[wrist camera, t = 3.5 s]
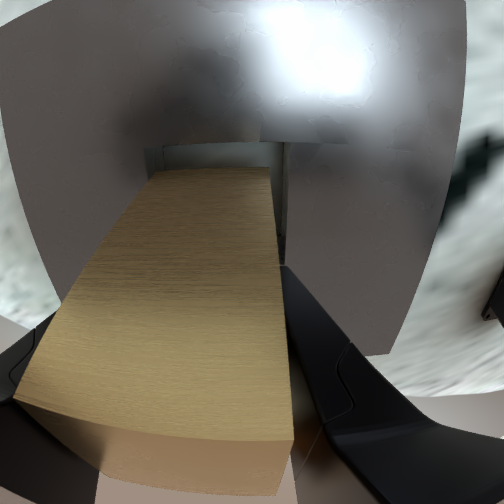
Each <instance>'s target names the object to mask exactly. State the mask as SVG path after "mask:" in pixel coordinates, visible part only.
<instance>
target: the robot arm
mask: <svg viewBox="0 0 504 504" xmlns="http://www.w3.org/2000/svg"><path fill="white" fill-rule="evenodd" d="M280 274H281V284H282V295H283V305H284V316H285V327H286V339H287V351H288V363H289V375H290V388H291V402H292V416H293V431H294V442H293V445H292V448H291V451H290V455H291V462H292V468H293V474H294V480H295V488H296V494H297V501H298V504H504V439H500V438H494V437H490V436H485V435H481V434H476V433H472V432H468V431H464V430H460V429H456V428H451V427H448V426H445V425H441V424H439V423H437V422H435V421H433V420H431V419H430V418H428V417H427V416H426V415H424V414H423V413H422V412H421V411H420V410H418V409H417V408H416V407H415V406H414V405H413V404H412V403H411V402H410V401H409V400H408V399H407V398H406V397H405V396H404V395H403V394H401V393H400V392H399V391H398V390H397V389H396V388H395V387H394V386H393V385H392V384H391V383H390V382H389V381H388V380H387V379H386V378H385V377H384V376H383V375H382V374H381V373H380V372H379V371H378V370H377V369H376V368H375V367H374V366H373V365H372V364H371V363H370V362H369V361H368V360H367V359H366V358H365V356H364V355H363V354H362V353H361V352H360V351H359V350H358V348H357V347H356V346H355V345H354V344H353V343H352V342H351V340H350V339H349V338H348V337H347V335H346V334H345V333H344V332H343V331H342V329H341V328H340V327H339V326H338V325H337V323H336V322H335V321H334V320H333V319H332V318H331V316H330V315H329V314H328V313H327V312H326V310H325V309H324V308H323V307H322V306H321V305H320V303H319V302H318V301H317V300H316V299H315V298H314V296H313V295H312V294H311V293H310V292H309V291H308V289H307V288H306V287H305V286H304V285H303V283H302V282H301V281H300V280H299V279H298V278H297V276H296V275H295V274H294V273H293V272H292V271H291V270H290V268H289V267H288V266H280ZM57 311H58V310H57ZM57 311H55V312H54V313H53V314H52V315H50V316H49V317H48V318H46V319H45V320H44V321H43V322H41V323H40V324H39V325H37V326H36V329H35V328H34V329H32V330H31V331H30V332H29V333H27V334H26V335H25V336H24V337H22V338H21V339H20V340H18V341H17V342H16V343H15V344H13V345H12V346H11V347H9V348H8V349H6V350H5V351H4V352H2V353H1V354H0V504H94V503H95V496H96V490H97V483H98V477H99V470H97V469H96V468H95V467H93V466H92V465H90V464H89V463H88V462H86V461H85V460H83V459H82V458H81V457H79V456H78V455H77V454H75V453H74V452H73V451H71V450H70V449H69V448H68V447H66V446H65V445H64V444H63V443H61V442H60V441H59V440H58V439H57V438H55V437H54V436H53V435H52V434H51V433H50V432H48V431H47V430H46V429H45V428H44V427H43V426H42V425H40V424H39V423H38V422H37V421H36V420H35V419H34V418H33V417H32V416H31V415H30V414H29V413H28V412H27V411H25V410H24V409H23V408H22V407H21V406H20V405H19V404H18V403H17V402H16V401H15V399H14V398H13V396H14V394H15V392H16V390H17V387H18V385H19V383H20V381H21V379H22V377H23V374H24V372H25V370H26V368H27V366H28V364H29V362H30V360H31V358H32V356H33V354H34V352H35V350H36V348H37V347H38V345H39V343H40V341H41V339H42V337H43V335H44V334H45V332H46V330H47V328H48V326H49V325H50V323H51V321H52V319H53V317H54V316H55V314H56V312H57ZM481 317H482V318H483V320H484V321H487V320H492V319H498V320H499V322H500V323H501V325H502V327H503V328H504V271H503V273H502V276H501V278H500V280H499V282H498V284H497V286H496V288H495V290H494V292H493V294H492V296H491V298H490V300H489V302H488V304H487V305H486V307H485V309H484V311H483V313H482V315H481Z"/></svg>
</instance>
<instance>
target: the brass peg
mask: <svg viewBox="0 0 504 504" xmlns="http://www.w3.org/2000/svg"><path fill="white" fill-rule="evenodd" d="M13 398H14V399H15V401H16V402H17V403H18V404H19V405H20V406H21V407H22V408H23V409H24V410H25V411H27V412H28V413H29V414H30V415H31V416H32V417H33V418H34V419H35V420H36V421H37V422H38V423H39V424H40V425H42V426H43V427H44V428H45V429H46V430H47V431H48V432H50V433H51V434H52V435H53V436H54V437H55V438H57V439H58V440H59V441H60V442H61V443H63V444H64V445H65V446H66V447H68V448H69V449H70V450H71V451H73V452H74V453H75V454H77V455H78V456H79V457H81V458H82V459H83V460H85V461H86V462H88V463H89V464H90V465H92V466H93V467H95V468H96V469H97V470H99V471H101V472H102V473H103V474H105V475H106V476H108V477H110V478H114V479H119V480H122V481H127V482H131V483H136V484H141V485H146V486H152V487H157V488H164V489H170V490H177V491H184V492H194V493H203V494H217V495H236V496H238V495H239V496H275V495H276V493H277V490H278V487H279V485H280V482H281V479H282V476H283V473H284V470H285V467H286V464H287V461H288V458H289V455H290V451H291V448H292V445H293V442H294V431H293V416H292V402H291V388H290V375H289V363H288V351H287V339H286V327H285V316H284V305H283V295H282V284H281V274H280V264H279V255H278V245H277V236H276V227H275V217H274V209H273V200H272V191H271V183H270V174H269V167H237V168H203V169H182V170H166V171H156V172H155V174H154V175H153V176H152V177H151V178H150V180H149V181H148V182H147V183H146V184H145V186H144V187H143V188H142V189H141V191H140V192H139V193H138V194H137V196H136V197H135V198H134V199H133V201H132V202H131V203H130V205H129V206H128V207H127V208H126V210H125V211H124V212H123V214H122V215H121V216H120V218H119V219H118V220H117V222H116V223H115V224H114V226H113V227H112V229H111V230H110V231H109V233H108V234H107V235H106V237H105V238H104V240H103V241H102V242H101V244H100V245H99V247H98V248H97V250H96V251H95V253H94V254H93V255H92V257H91V258H90V260H89V261H88V263H87V264H86V266H85V267H84V269H83V270H82V272H81V273H80V275H79V277H78V278H77V280H76V281H75V283H74V284H73V286H72V288H71V289H70V291H69V292H68V294H67V296H66V297H65V299H64V301H63V302H62V304H61V306H60V307H59V309H58V311H57V312H56V314H55V316H54V317H53V319H52V321H51V323H50V325H49V326H48V328H47V330H46V332H45V334H44V335H43V337H42V339H41V341H40V343H39V345H38V347H37V348H36V350H35V352H34V354H33V356H32V358H31V360H30V362H29V364H28V366H27V368H26V370H25V372H24V374H23V377H22V379H21V381H20V383H19V385H18V387H17V390H16V392H15V394H14V396H13Z"/></svg>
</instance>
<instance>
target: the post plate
mask: <svg viewBox="0 0 504 504" xmlns="http://www.w3.org/2000/svg"><path fill="white" fill-rule="evenodd" d="M466 52H467V21H466V1H464V0H52V1H50V2H47V3H45V4H43V5H41V6H39V7H37V8H35V9H33V10H31V11H29V12H27V13H25V14H23V15H21V16H19V17H17V18H16V19H14V20H12V21H10V22H8V23H7V24H5V25H3V26H2V27H0V108H1V115H2V121H3V127H4V133H5V138H6V143H7V148H8V153H9V157H10V161H11V166H12V170H13V174H14V177H15V181H16V185H17V188H18V192H19V195H20V199H21V202H22V205H23V208H24V212H25V215H26V218H27V221H28V223H29V226H30V229H31V232H32V235H33V238H34V240H35V243H36V245H37V248H38V251H39V253H40V256H41V258H42V261H43V263H44V265H45V268H46V270H47V272H48V275H49V277H50V279H51V282H52V284H53V286H54V288H55V290H56V292H57V295H58V297H59V299H60V301H61V303H62V302H63V301H64V299H65V297H66V296H67V294H68V292H69V291H70V289H71V288H72V286H73V284H74V283H75V281H76V280H77V278H78V277H79V275H80V273H81V272H82V270H83V269H84V267H85V266H86V264H87V263H88V261H89V260H90V258H91V257H92V255H93V254H94V253H95V251H96V250H97V248H98V247H99V245H100V244H101V242H102V241H103V240H104V238H105V237H106V235H107V234H108V233H109V231H110V230H111V229H112V227H113V226H114V224H115V223H116V222H117V220H118V219H119V218H120V216H121V215H122V214H123V212H124V211H125V210H126V208H127V207H128V206H129V205H130V203H131V202H132V201H133V199H134V198H135V197H136V196H137V194H138V193H139V192H140V191H141V189H142V188H143V187H144V186H145V184H146V183H147V182H148V181H149V180H150V178H151V177H152V176H153V175H154V174H155V172H156V171H165V163H164V155H163V146H169V145H182V144H199V143H220V142H284V157H283V192H282V221H281V236H277V245H278V255H279V264H280V266H288V267H289V268H290V270H291V271H292V272H293V273H294V274H295V275H296V276H297V278H298V279H299V280H300V281H301V282H302V283H303V285H304V286H305V287H306V288H307V289H308V291H309V292H310V293H311V294H312V295H313V296H314V298H315V299H316V300H317V301H318V302H319V303H320V305H321V306H322V307H323V308H324V309H325V310H326V312H327V313H328V314H329V315H330V316H331V318H332V319H333V320H334V321H335V322H336V323H337V325H338V326H339V327H340V328H341V329H342V331H343V332H344V333H345V334H346V335H347V337H348V338H349V339H350V340H351V342H352V343H353V344H354V345H355V346H356V347H357V348H358V350H359V351H360V352H361V353H362V354H363V355H364V356H373V355H382V354H389V353H390V351H391V348H392V346H393V344H394V342H395V340H396V338H397V336H398V333H399V331H400V329H401V327H402V324H403V322H404V320H405V317H406V315H407V313H408V310H409V308H410V305H411V303H412V300H413V298H414V295H415V293H416V290H417V288H418V285H419V282H420V280H421V277H422V274H423V271H424V269H425V266H426V263H427V260H428V257H429V254H430V251H431V248H432V245H433V242H434V238H435V235H436V232H437V228H438V225H439V221H440V218H441V214H442V211H443V207H444V203H445V199H446V195H447V191H448V187H449V182H450V178H451V173H452V169H453V164H454V159H455V153H456V148H457V142H458V136H459V130H460V123H461V115H462V107H463V98H464V87H465V74H466Z"/></svg>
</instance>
